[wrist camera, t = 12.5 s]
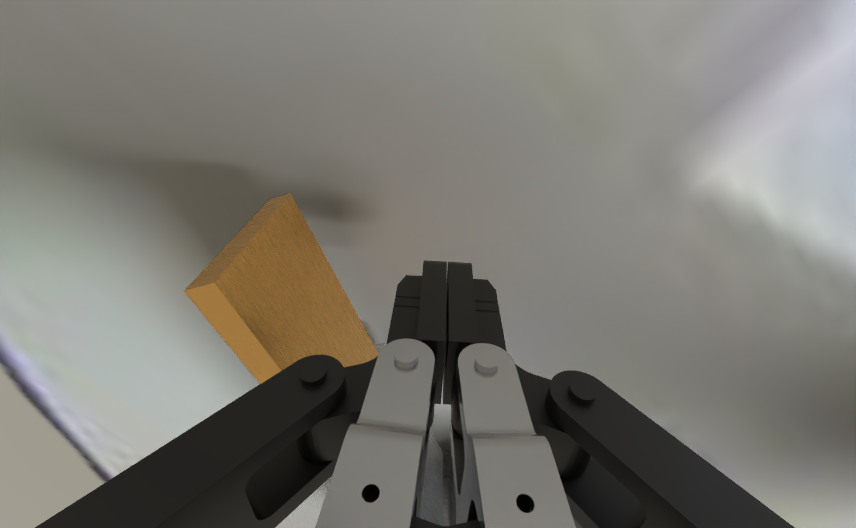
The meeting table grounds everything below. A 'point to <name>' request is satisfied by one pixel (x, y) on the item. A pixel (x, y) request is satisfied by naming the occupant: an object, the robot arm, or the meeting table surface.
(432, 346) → the robot arm
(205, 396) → the meeting table surface
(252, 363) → the orange and gray panel
